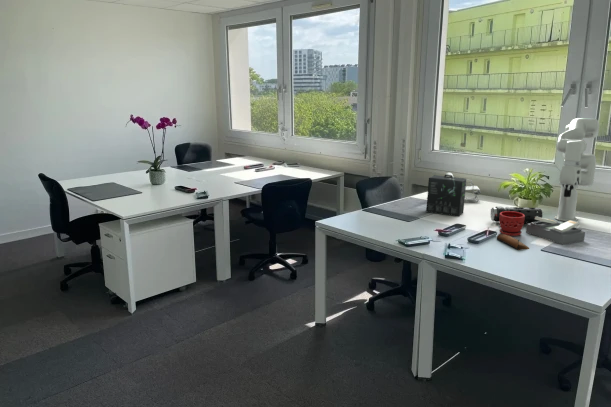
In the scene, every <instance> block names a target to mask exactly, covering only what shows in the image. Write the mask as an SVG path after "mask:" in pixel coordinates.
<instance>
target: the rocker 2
mask: <svg viewBox="0 0 611 407" xmlns="http://www.w3.org/2000/svg"><path fill="white" fill-rule="evenodd" d="M577 226H579V222H578V221H571V220H569V221H567V222H565V221H564V222H563V223H561V224H560V225H559V226H557V227H555V228H554V230H557V231H560V232H565V231H567V230H569V229H571V228H573V227H575V228H576V227H577Z"/></svg>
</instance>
